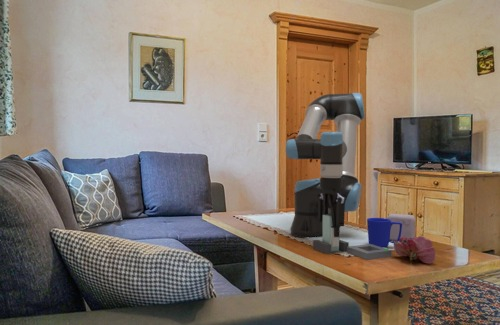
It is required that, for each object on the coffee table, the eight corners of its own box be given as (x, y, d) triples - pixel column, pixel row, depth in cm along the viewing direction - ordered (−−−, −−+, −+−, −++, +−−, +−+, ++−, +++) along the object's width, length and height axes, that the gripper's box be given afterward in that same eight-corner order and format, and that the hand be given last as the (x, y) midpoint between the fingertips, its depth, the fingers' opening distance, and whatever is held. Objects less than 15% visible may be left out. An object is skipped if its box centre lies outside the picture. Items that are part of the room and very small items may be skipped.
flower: (403, 266, 129) (419, 241, 130) (426, 277, 120) (443, 250, 121) (381, 249, 125) (398, 223, 127) (403, 259, 116) (421, 231, 117)
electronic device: (386, 240, 153) (386, 214, 153) (388, 238, 158) (388, 213, 157) (413, 243, 149) (414, 216, 149) (414, 240, 153) (415, 215, 153)
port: (346, 254, 131) (346, 245, 131) (370, 251, 136) (370, 242, 136) (367, 261, 122) (367, 252, 122) (391, 258, 126) (391, 249, 126)
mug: (403, 250, 137) (404, 222, 137) (367, 248, 139) (368, 220, 139) (399, 245, 145) (400, 218, 145) (365, 243, 147) (366, 217, 147)
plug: (322, 249, 136) (322, 207, 136) (331, 248, 137) (332, 207, 137) (329, 251, 132) (329, 209, 132) (338, 250, 134) (339, 208, 134)
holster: (313, 250, 137) (313, 240, 137) (334, 248, 140) (334, 238, 140) (326, 255, 129) (326, 245, 129) (348, 253, 133) (348, 242, 133)
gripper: (308, 175, 141) (307, 240, 141) (337, 178, 125) (336, 251, 125) (325, 175, 144) (325, 238, 144) (356, 178, 128) (355, 249, 129)
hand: (330, 244), depth 135 cm, fingers closed on plug, 4 cm apart
